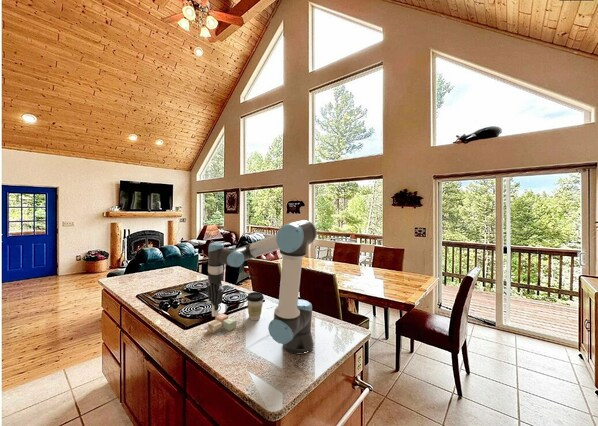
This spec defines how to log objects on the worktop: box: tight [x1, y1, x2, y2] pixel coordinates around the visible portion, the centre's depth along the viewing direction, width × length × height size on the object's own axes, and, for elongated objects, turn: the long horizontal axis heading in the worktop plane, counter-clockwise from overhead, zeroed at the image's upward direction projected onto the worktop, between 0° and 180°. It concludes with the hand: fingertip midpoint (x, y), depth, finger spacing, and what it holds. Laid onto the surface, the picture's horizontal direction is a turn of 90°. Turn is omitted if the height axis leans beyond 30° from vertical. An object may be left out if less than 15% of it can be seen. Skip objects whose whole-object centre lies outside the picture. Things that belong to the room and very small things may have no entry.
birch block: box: [207, 320, 222, 335], centre depth 152 cm, size 5×5×4 cm
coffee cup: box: [246, 291, 265, 321], centre depth 167 cm, size 10×10×15 cm
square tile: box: [204, 325, 229, 337], centre depth 155 cm, size 12×12×1 cm
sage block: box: [223, 316, 238, 332], centre depth 156 cm, size 5×5×4 cm
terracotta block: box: [214, 312, 229, 325], centre depth 160 cm, size 5×5×4 cm
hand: (214, 315), depth 152 cm, fingers closed
